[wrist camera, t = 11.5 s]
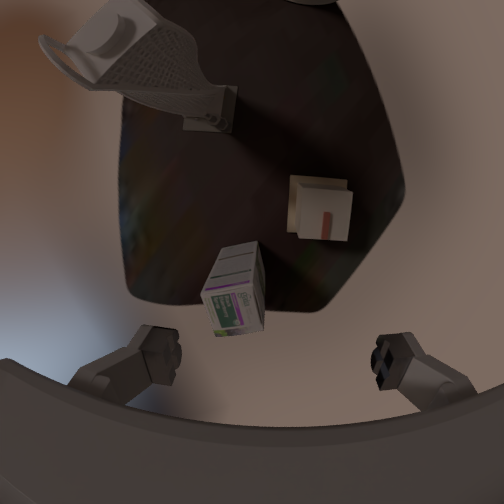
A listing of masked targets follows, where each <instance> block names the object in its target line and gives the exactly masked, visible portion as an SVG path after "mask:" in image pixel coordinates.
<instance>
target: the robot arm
mask: <svg viewBox="0 0 504 504" xmlns="http://www.w3.org/2000/svg"><path fill="white" fill-rule="evenodd" d="M288 1H291V2H295V3H300V4H307V5H323V4H329V3H333V2H336V1H338V0H288ZM178 339H179V333H178V330H176V329H171V328H164V327H158V326H149V325H141V327H140V328H139V330H138V331H137V333H136V334H135V335H134V337H133V338H132V340H131V341H130V343H129V345H128V346H127V347H122V348H120V349H118V350H116V351H114V352H112V353H110V354H108V355H106V356H104V357H102V358H100V359H98V360H95V361H93V362H91V363H89V364H87V365H85V366H83V367H80V368H79V369H78V371H77V372H76V374H75V375H74V376H73V378H72V379H71V380H70V382H69V383H68V385H67V386H66V385H64V384H61V383H59V382H57V381H54V380H52V379H50V378H48V377H45V376H43V375H41V374H39V373H37V372H35V371H33V370H31V369H29V368H26V367H24V366H23V365H21V364H19V363H17V362H16V361H14V360H12V359H8V358H5V359H1V360H0V504H504V383H503V384H501V385H499V386H497V387H494V388H492V389H489V390H487V391H484V392H482V393H479V394H478V393H477V391H476V390H475V388H474V387H473V385H472V383H471V382H470V380H469V379H468V377H467V376H465V375H463V374H462V373H460V372H458V371H456V370H455V369H453V368H451V367H450V366H448V365H446V364H444V363H442V362H441V361H439V360H437V359H436V358H434V357H432V356H430V355H426V354H425V353H424V351H423V349H422V348H421V346H420V344H419V343H418V341H417V340H416V338H415V337H414V335H413V334H412V333H411V332H405V333H399V334H386V335H379V336H378V338H377V340H376V345H377V348H375V349H374V350H373V352H372V355H371V368H372V371H373V372H374V373H375V374H376V375H377V377H376V382H377V384H378V387H379V390H380V391H382V390H390V389H397V390H398V391H399V392H400V393H402V394H403V395H404V396H405V397H406V398H407V399H409V401H410V402H412V403H413V404H414V405H415V406H416V407H417V408H418V409H420V411H421V412H417V413H413V414H408V415H403V416H398V417H393V418H387V419H381V420H375V421H368V422H361V423H352V424H343V425H330V426H314V427H259V426H242V425H230V424H220V423H212V422H204V421H197V420H190V419H184V418H179V417H173V416H168V415H163V414H158V413H154V412H149V411H145V410H141V409H137V408H133V407H129V406H126V405H125V404H126V403H127V402H129V401H130V400H132V399H133V398H134V397H136V396H137V395H138V394H140V393H141V392H142V391H143V390H145V389H146V388H147V387H149V386H150V385H151V384H152V383H155V384H161V385H168V386H172V383H173V381H174V378H175V376H176V373H175V369H177V368H178V367H179V365H180V363H181V357H182V350H181V345H180V344H179V343H178V342H177V341H178Z"/></svg>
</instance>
